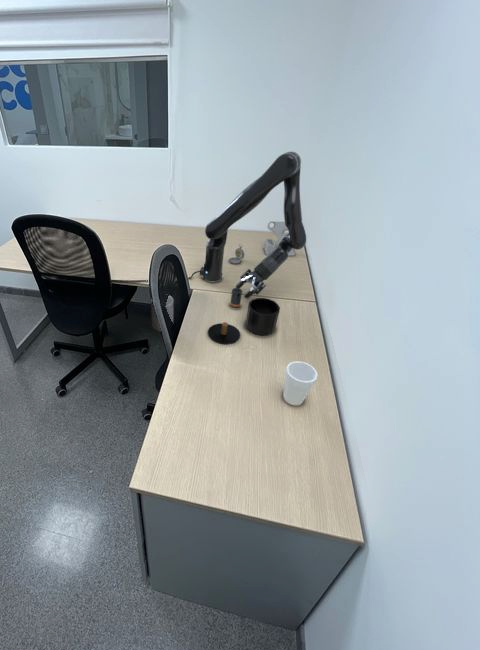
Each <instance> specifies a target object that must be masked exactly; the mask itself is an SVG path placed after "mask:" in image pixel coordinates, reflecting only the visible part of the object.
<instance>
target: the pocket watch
mask: <svg viewBox="0 0 480 650" xmlns="http://www.w3.org/2000/svg"><path fill="white" fill-rule="evenodd" d="M242 248H243V245H242V244H239V247H238V248H236V249H235V251H234V253H235V257H232V258H229V259H228V262H229V263H230V264H232V265H239V264H240V263H241V260H243V259H244V258H245V251H244V250H243V249H242Z"/></svg>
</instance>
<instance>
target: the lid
mask: <svg viewBox="0 0 480 650" xmlns="http://www.w3.org/2000/svg"><path fill="white" fill-rule="evenodd" d="M207 336H208V338H209V339H210V340H211V341H213V342H214V343H216V344H220V345H225V346H226V345H232V344H235V343H236V342H238V341H239V340H240V338H241V332H240V331H239V329H238V328H237V327H236V326H234V325H232V324H229V323H228V322H226V321H224V322H222V323H221V322H219V323H215V324H212V325H211V326H210V327H209V328H208V329H207Z"/></svg>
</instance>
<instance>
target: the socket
mask: <svg viewBox="0 0 480 650" xmlns="http://www.w3.org/2000/svg"><path fill="white" fill-rule="evenodd" d="M242 294H243V290H242V288H240V289H239V288H236V287H233V288H232V289H231V295H230V303H229V306H230V307H231V308H232V309H239V308H241V302H242Z"/></svg>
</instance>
